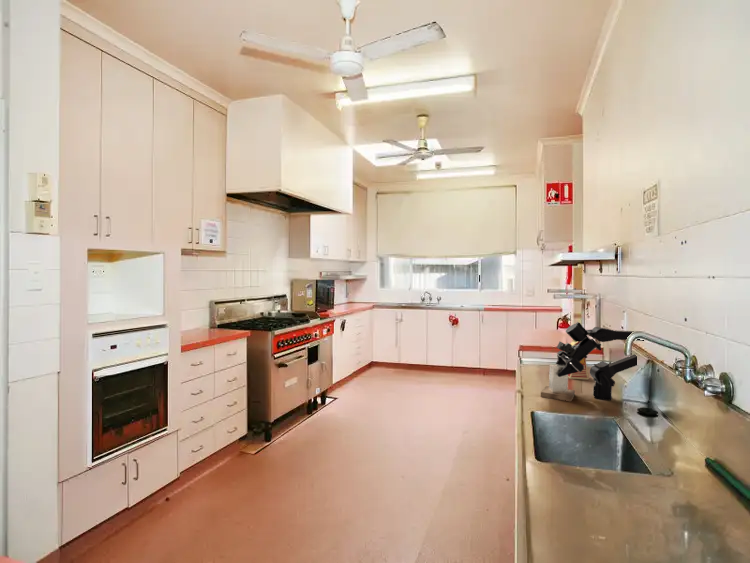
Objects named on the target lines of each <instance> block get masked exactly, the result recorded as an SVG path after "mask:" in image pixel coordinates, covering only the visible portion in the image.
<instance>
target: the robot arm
mask: <svg viewBox="0 0 750 563" xmlns="http://www.w3.org/2000/svg"><path fill="white" fill-rule="evenodd" d="M634 331H635V330H617V329H616V330H614V329H609V328H605V327H602V326H601V327H600V326H595V327H593V328H592V329H586V328H585V327H584V326H583V325H582V324H581V322H579V321H576V322H575V323H573V324H572V325H570V326H568V327H567V328H566V329H565V333H566V334H567V335H568V336H569V337H570V338H571V340H574V341H575V342H577V341H578V342H580V343H579V344H578V345H576V346H575V345H573V346H572V345H571V343H569V342H567V343H564V342H562V341H559V342H558V344H557V346H556V348H557V349H558V350H559V351H558V352H556V354H557V356H556V357H557V361H556V362H555V364H556V365H565V367H564V368H563V369H562V370H561V371H560V372H559V374H558V376H559V377H561V376H565V375H568V374H572V373H576V372H578V371H579V372H581V371H582V370H584V366H583V365H582V364H581V363H580V361H581V360H582V359H583V358H586V359H587V358H588V355H589V354H590V353H592V352H593V350H595V349H596V350H598V351H601V350H602V344H601V343H607V342H612V341H618V340H620V341H627V340H626V339H627V337H628V336H629V335H630V334H631V333H632V332H634ZM590 337H591V338H590ZM597 341H598V342H597ZM636 341H638V342H642V341H644V340H640V339H637V340H636ZM599 342H601V343H599ZM635 354H636V353H634V354H632V355H629V356H630V357H629V356H627V357H624V358H621V359H618V360H616V361H614V362H610V363H608V362H606V361H604V360H601V361H599V362H597V363H593V365H591V367H590V369H589V374H590V376H591V377H592V378H593V380H594V382H595V383H594V385H593V392H592V395H593V399H597V400H598V399H599V400H605V401H612V399H613V396H612V394H613V392H612V390H613V387H615V383H616V381H615V380H614V379H613V377H614V376H615V375H616V374H618V373H621V372H623V371H626V370H629V369H631V368H634V367H636V366H638V365H637V356H636V355H635ZM577 370H578V371H577Z"/></svg>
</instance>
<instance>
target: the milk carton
mask: <svg viewBox="0 0 750 563" xmlns="http://www.w3.org/2000/svg"><path fill="white" fill-rule="evenodd" d="M579 343H580V342H578V341H577V342H575V341H574V340H573V339H571V342H570V344H571V345H572V346H573V345H575V346H576V345H578V344H579ZM580 363H581V364H582V365H583V366H584V370H582V371H581V372H579V371H578V370H577V371H578V372H576V373H572V374H568V379H569V380H570V379H571V380H573V379H574V380H589V375H588V374H589V373H588V365H587V358H583V359H582V360H581V361H580Z"/></svg>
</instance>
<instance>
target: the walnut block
mask: <svg viewBox="0 0 750 563" xmlns="http://www.w3.org/2000/svg"><path fill="white" fill-rule="evenodd" d="M575 392H576V390H575V389H569V388H567V393H553V392H551V391H550V390H549V385H545V387H543V389H542V390H541V391H540V397H542V398H546V399H547V398H548V399H552V398H554V399H553V400H558V399H560V400H559V401H565V400H566V401H567V402H572V400H573V399H574V397H575V395H576V394H575Z"/></svg>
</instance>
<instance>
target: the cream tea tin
mask: <svg viewBox="0 0 750 563" xmlns="http://www.w3.org/2000/svg"><path fill="white" fill-rule="evenodd" d="M564 367H565V365H556V363H555V364H549V372H548V374H549V376H548V377H549V378H548V386H549V390H550V391H551V392H553V393H567V389H569V388H568V384H569V377H568V375H565V376H561V377H559V376H558V374H559V372H560V371H561V370H562V369H563V368H564Z"/></svg>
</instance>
